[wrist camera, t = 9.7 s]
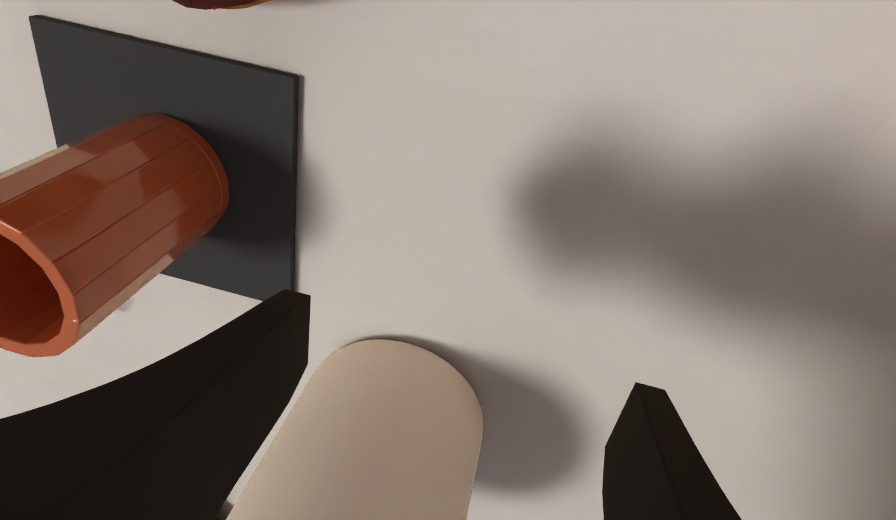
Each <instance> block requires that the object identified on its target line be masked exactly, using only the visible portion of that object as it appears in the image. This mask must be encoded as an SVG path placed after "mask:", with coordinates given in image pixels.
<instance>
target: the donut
mask: <svg viewBox="0 0 896 520" xmlns="http://www.w3.org/2000/svg"><path fill="white" fill-rule="evenodd" d="M173 1H175V2H177V3H179V4H181V5H183V6H185V7H188V8H196V9H205V10H206V9H214V10H215V9H217V8H223V9H237V8H247V7H251V6H254V5H258V4H261V3H264V2H267V1H270V0H173Z"/></svg>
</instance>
